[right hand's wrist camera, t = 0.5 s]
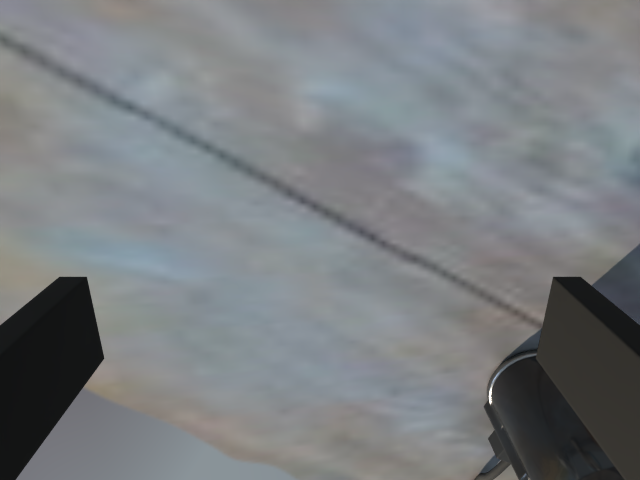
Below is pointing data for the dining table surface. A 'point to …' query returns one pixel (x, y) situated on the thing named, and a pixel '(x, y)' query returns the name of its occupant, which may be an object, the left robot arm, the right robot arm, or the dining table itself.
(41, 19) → the dining table surface
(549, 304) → the right robot arm
